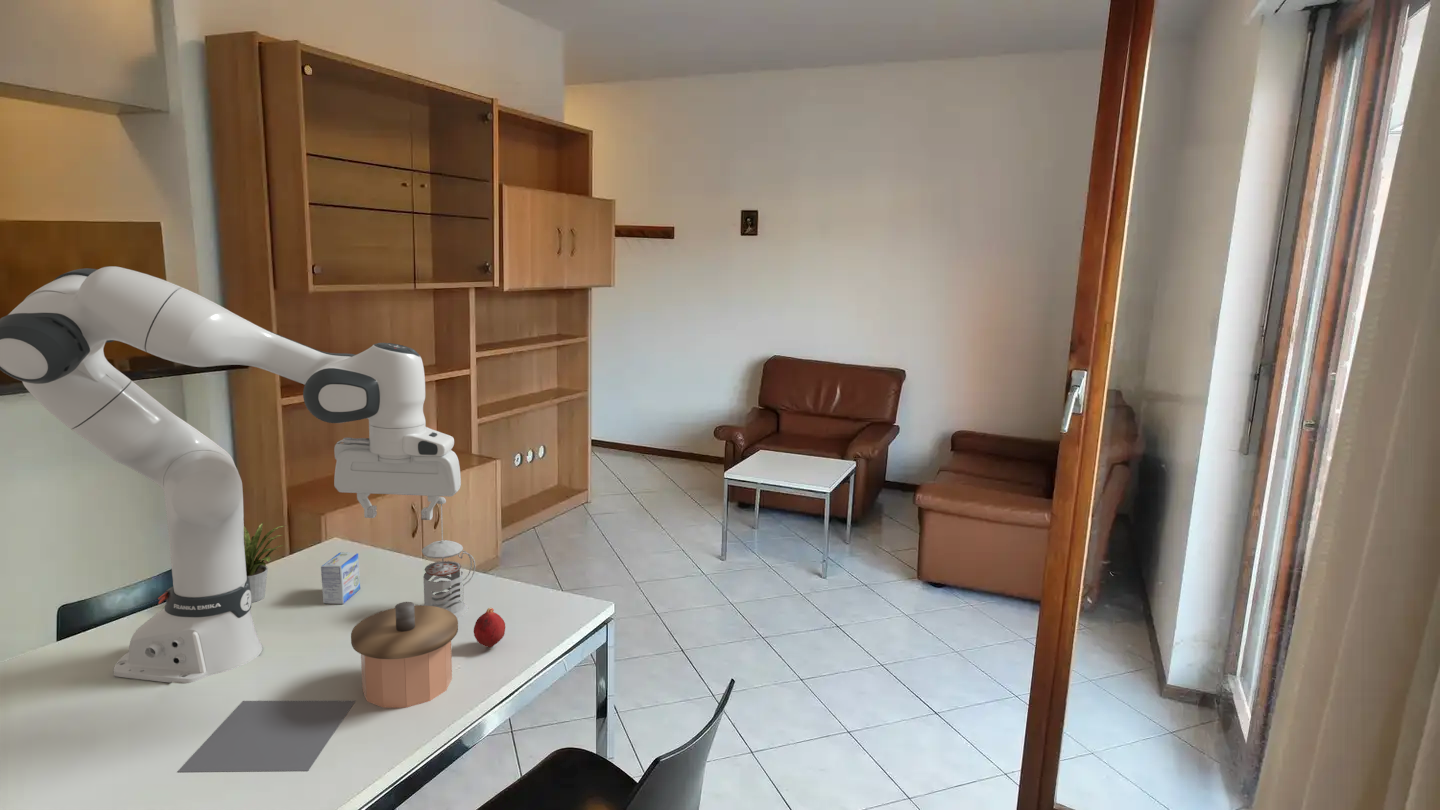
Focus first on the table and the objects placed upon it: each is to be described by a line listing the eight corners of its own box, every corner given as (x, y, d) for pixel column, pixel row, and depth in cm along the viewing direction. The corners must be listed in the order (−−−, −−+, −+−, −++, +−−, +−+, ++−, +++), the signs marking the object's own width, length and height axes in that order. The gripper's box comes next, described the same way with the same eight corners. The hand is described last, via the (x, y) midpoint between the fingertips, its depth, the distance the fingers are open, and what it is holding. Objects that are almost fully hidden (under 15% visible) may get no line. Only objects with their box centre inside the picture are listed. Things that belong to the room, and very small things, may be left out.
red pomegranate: (496, 656, 148) (495, 617, 146) (468, 652, 149) (467, 613, 147) (510, 642, 153) (510, 604, 152) (483, 638, 154) (482, 600, 153)
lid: (334, 659, 125) (332, 629, 124) (372, 611, 142) (371, 584, 141) (443, 659, 127) (442, 629, 126) (468, 611, 143) (467, 585, 142)
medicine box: (343, 605, 166) (341, 566, 164) (322, 604, 166) (320, 565, 164) (360, 589, 173) (359, 552, 172) (340, 588, 173) (338, 551, 172)
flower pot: (351, 710, 129) (348, 654, 127) (380, 665, 143) (378, 614, 141) (438, 709, 130) (436, 654, 128) (459, 666, 144) (458, 615, 142)
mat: (177, 775, 112) (177, 771, 112) (243, 703, 129) (242, 700, 129) (308, 773, 113) (308, 770, 113) (355, 703, 131) (355, 700, 131)
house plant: (310, 588, 172) (305, 518, 169) (261, 616, 159) (256, 540, 156) (254, 580, 175) (249, 511, 172) (202, 607, 162) (195, 532, 159)
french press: (411, 608, 165) (407, 495, 160) (464, 594, 173) (462, 485, 168) (430, 626, 158) (426, 507, 153) (484, 610, 166) (482, 497, 161)
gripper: (326, 441, 128) (328, 521, 131) (453, 446, 130) (453, 526, 132) (341, 432, 134) (344, 509, 137) (463, 438, 136) (463, 514, 138)
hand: (398, 518), depth 135 cm, fingers open, 8 cm apart
